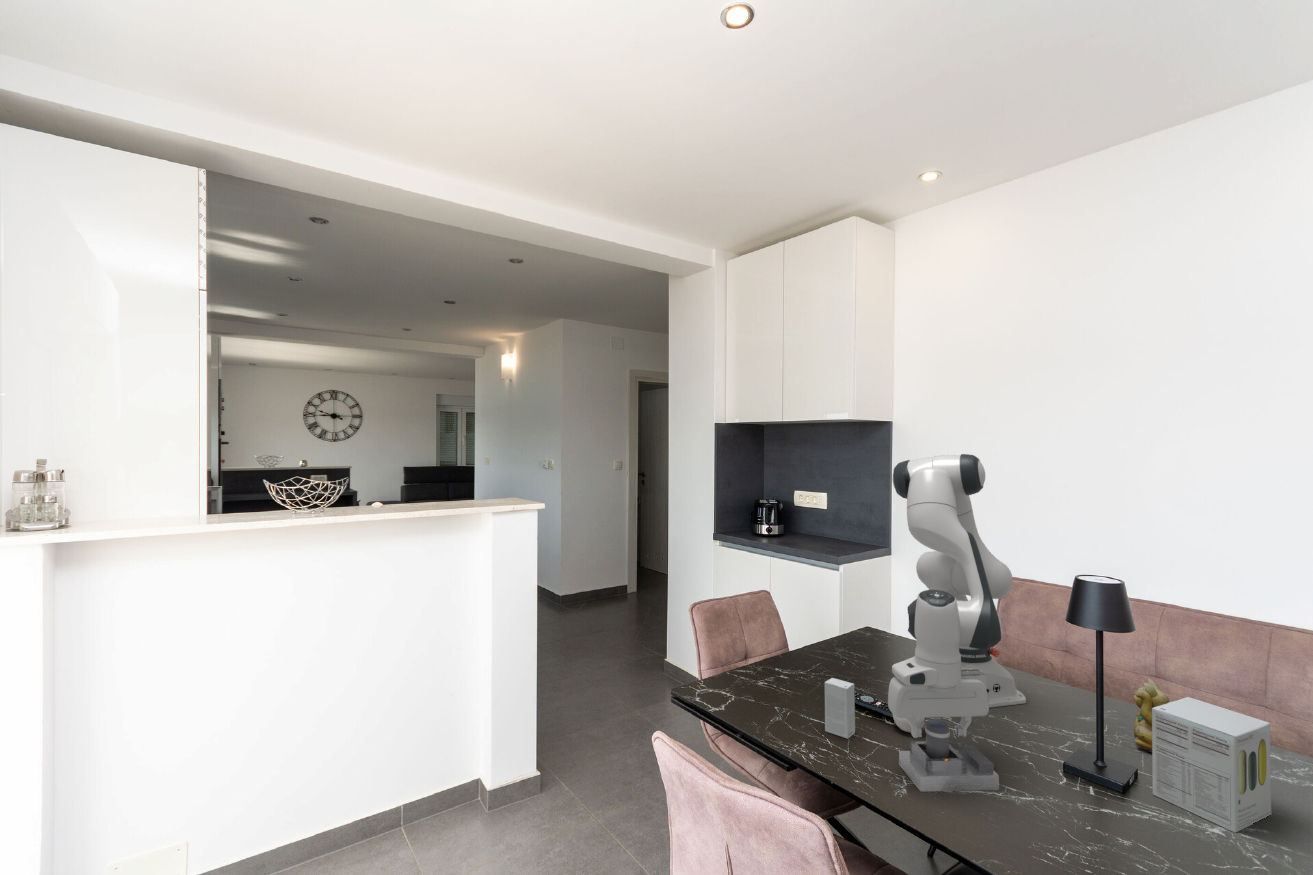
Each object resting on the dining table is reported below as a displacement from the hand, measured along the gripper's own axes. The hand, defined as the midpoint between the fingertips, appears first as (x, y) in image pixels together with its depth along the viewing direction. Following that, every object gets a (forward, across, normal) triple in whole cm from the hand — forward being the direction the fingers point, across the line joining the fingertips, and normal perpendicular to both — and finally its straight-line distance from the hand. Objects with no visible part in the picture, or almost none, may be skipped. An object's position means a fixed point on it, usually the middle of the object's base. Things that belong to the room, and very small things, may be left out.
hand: (938, 736), depth 125 cm
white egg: (+9, -4, -21) cm, 23 cm away
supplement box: (+9, -48, +11) cm, 50 cm away
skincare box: (+9, +14, -20) cm, 26 cm away
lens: (+6, 0, 0) cm, 6 cm away
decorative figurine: (+9, -56, -10) cm, 57 cm away
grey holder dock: (+8, -2, 0) cm, 9 cm away
